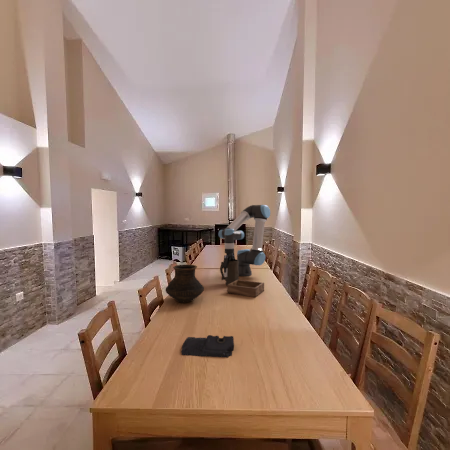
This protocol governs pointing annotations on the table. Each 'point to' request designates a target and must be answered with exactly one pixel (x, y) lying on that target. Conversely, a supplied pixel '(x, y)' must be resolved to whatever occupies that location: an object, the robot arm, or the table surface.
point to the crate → (245, 288)
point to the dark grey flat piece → (208, 346)
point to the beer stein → (230, 272)
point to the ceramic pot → (184, 284)
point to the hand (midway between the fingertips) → (229, 274)
